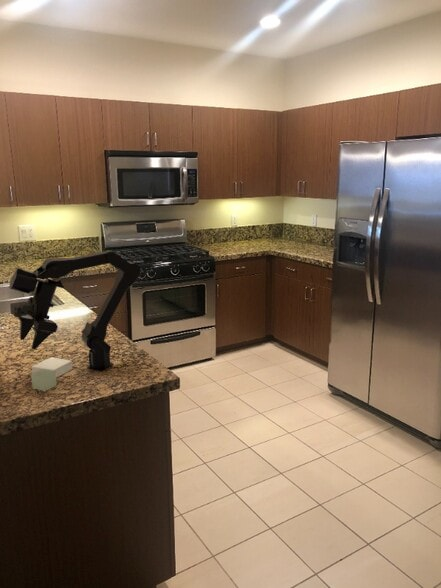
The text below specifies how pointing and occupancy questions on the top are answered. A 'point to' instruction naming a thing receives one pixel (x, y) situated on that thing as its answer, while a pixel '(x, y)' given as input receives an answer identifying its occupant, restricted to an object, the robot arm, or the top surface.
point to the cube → (43, 379)
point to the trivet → (54, 365)
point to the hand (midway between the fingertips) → (27, 344)
